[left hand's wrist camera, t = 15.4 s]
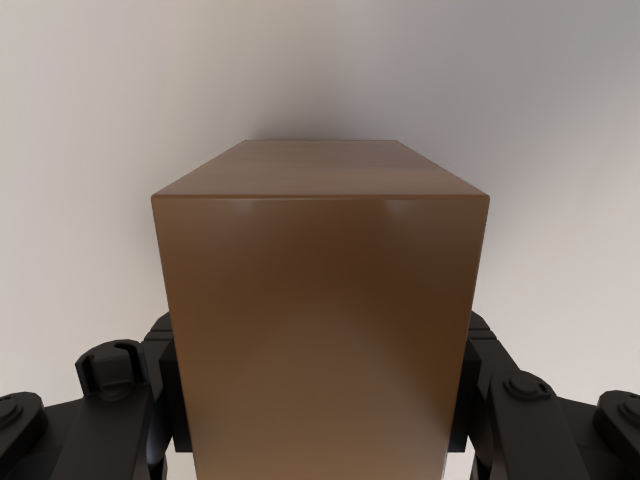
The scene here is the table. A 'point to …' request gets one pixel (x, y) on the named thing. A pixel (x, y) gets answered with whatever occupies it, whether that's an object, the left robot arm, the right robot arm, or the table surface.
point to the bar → (320, 307)
